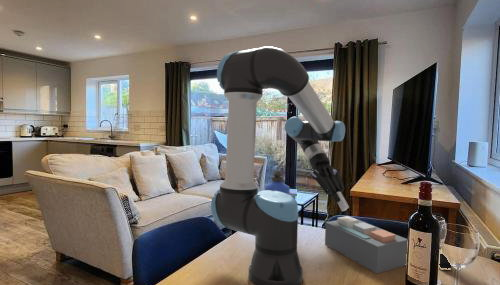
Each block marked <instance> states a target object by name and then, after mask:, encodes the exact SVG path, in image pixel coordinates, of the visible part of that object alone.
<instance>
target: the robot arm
mask: <svg viewBox="0 0 500 285" xmlns="http://www.w3.org/2000/svg"><path fill="white" fill-rule="evenodd" d="M216 80H217V83H219V85H218V86H219V87H220V88H221V89H222V90H223V91H224V92H223V95H224V97H225V98H226V99H227V101H228V113H227V115H228V117H227V134H226V155H225V156H226V157H225V159H226V160H225V177H224V178H225V179H224V180H223V181H222V182H221V183H220V184H219V189H218V190H216V191H215V193H214V196H212V197H211V202H210V211H211V215H212V218H213V220H214V221H215V222H216V224H218V225H219V226H220V227H224V228H225V229H228V230H233V231H237V232H240V233H243V234H247V235H250V236H251V235H252V236H254V237H255V240H254V243H255V244H254V245H255V246H254V251H253V254H252V258H251V261H250V264H249V266H248V279H249V281H251V282H250V283H252V284H254V285H301V284H302V282H303V277H304V275H303V274H304V270H303V267H302V265H301V261H300V258H299V254H298V226H299V225H298V224H299V208H298V202H297V200H296V199H295V197H293V196H292V195H290V193H289V194H286V193H283V192H279V191H271V190H265V189H264V190H260V191H259V186H258V185H257V183H256V182H255V181H254V174H255V172H254V171H255V152H256V150H255V149H256V134H257V133H256V128H257V113H258V112H257V110H258V109H257V108H258V102H259V101H260V100H261V99H262V98H263V91H264V90H266V89H273V90H277V91H279V92H280V93H281V94H282V95H283V96H285V97H288V98H289V100H290V101H291V102H292V103H293V105H294V106H295V108H297V109H298V112H300V114H301V115H302V116H303V117H304V119H305V120H302V119H301V118H300V117H298V116H292V117H290V118H288V119H287V120H286V122H285V123H284V130H285V132H286V133H287V135H288V136H289V137H290V138H291V139H293V140H294V141H295V142H296V143H297V144H298V145H299V147H300V148H301V149H302V151H303V153H304V155H305V158H306V159H307V161H308V163H309V165H310V167H311V169H312V170H313V171H312V173H311V174H310V176H311V177H312V179H314V180H315V182H317V184H318V185H319V186H320V188H321V189H322V190H323V192H324V193H325V195H329V197H332V198H333V200H334V202H335V203H336V204H338V207H339V208H340V210H341V212H345V211H347V209H349V208H350V206H349V204H348V202H347V200H346V199H347V198H346V197H345V196H344V193H343V192H344V191H345V189H346V188H345V184H344V182H343V178H342V177H341V172H340V169H339V168H337V169H335V168H334V167H333V166H332V165H331V162H330V159H329V156H328V155H327V154H326V152H325V150H324V149H323V147H322V145H321V144H320V142H333V143H334V142H341V141H343V140H344V138H345V134H346V125H345V123H344V122H343V121H341V120H334V119H333V117H332V116H331V114H330V112H328V110H327V108H326V107H325V105H324V104H323V102H322V100H321V99H320V97H319V95H318V94H317V92H316V90H315V89H314V88H313V87H312V86H313V85H311V83H310V82H309V81H310V75H309V74H308V72H307V70H306V69H305V67H304V66H303V64H302V63H301V62H300V61H299V60H297V59H296V58H295V57H294V56H293V55H291V54H290V53H288V52H286V51H285V50H283V49H282V48H278V47H274V46H262V47H258V48H257V47H256V48H251V49H244V50H243V49H242V50H237V51H236V50H235V51H233V52H230V53H227V54H226V55H224V56H223V57H222V58H221V59H220V61H219V63H218V65H217V71H216Z"/></svg>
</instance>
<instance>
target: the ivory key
mask: <svg viewBox="0 0 500 285" xmlns="http://www.w3.org/2000/svg"><path fill="white" fill-rule="evenodd" d="M336 218H337V219H336V220H337V223H340V224H342V225H344V226H346V227H349V228H351V229H353V224H357V223H358V220H359V219H358V220H357V218H355V217H352V216H349V215H345V216H341V217H336ZM354 218H355V219H354Z"/></svg>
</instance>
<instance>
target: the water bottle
mask: <svg viewBox="0 0 500 285" xmlns="http://www.w3.org/2000/svg"><path fill="white" fill-rule="evenodd" d="M283 181H284V176H283V173H282V172H281V171H280V170H275V171H274V172H273V173H272V176H271V182H270V183H268V184H266V185H265V186H264V190H271V191H279V192H283V193H286V194H289V195H290V188H291V187H290V186H289V185H288V184H285V183H284V182H283Z"/></svg>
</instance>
